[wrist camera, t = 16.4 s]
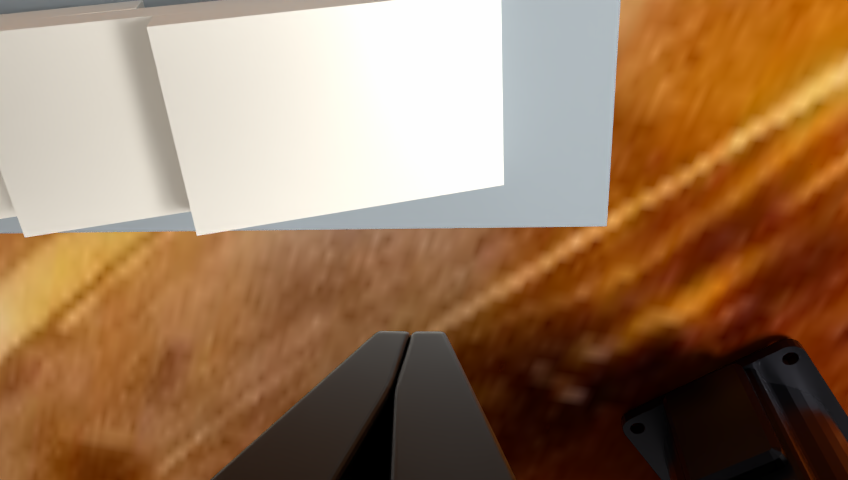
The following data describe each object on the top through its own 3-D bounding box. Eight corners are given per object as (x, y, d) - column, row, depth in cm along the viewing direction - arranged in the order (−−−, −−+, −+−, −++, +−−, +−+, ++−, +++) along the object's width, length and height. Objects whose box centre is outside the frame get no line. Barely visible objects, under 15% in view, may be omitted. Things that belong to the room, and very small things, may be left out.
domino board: (621, -117, 17) (629, -116, 16) (602, 212, 21) (607, 229, 20) (-194, -58, 20) (-233, -55, 19) (-73, 221, 24) (-100, 237, 23)
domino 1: (312, -1, 17) (-50, 35, 15) (336, 188, 19) (24, 237, 18) (305, -8, 18) (-27, 24, 17) (328, 169, 21) (38, 212, 19)
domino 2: (500, -12, 16) (146, 26, 15) (503, 185, 19) (196, 235, 17) (479, -19, 18) (152, 16, 16) (484, 165, 20) (199, 210, 18)
